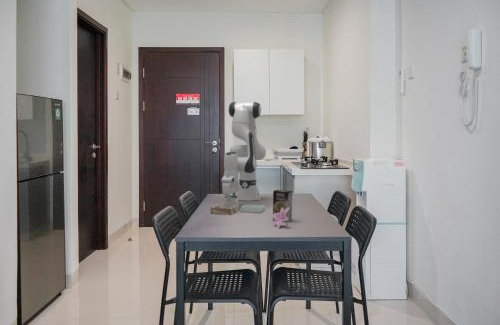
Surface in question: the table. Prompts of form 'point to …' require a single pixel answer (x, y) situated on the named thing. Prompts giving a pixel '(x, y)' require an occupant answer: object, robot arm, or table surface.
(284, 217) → the lily
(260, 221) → the table surface
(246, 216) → the table surface
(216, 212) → the bay
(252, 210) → the tray
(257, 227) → the table surface
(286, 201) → the coffee box
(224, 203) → the white block
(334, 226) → the table surface
